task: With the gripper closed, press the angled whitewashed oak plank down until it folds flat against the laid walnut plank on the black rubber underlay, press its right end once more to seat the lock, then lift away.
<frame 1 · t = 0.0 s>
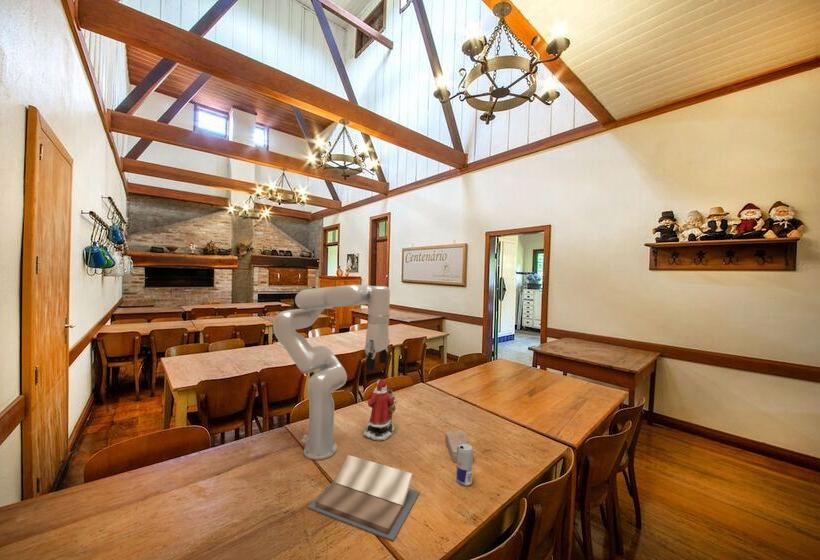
hand: (377, 366, 111), 37 cm above the table, tool pointing down, fingers open, 9 cm apart
loose plank: (373, 479, 98), point 4 cm above the table, hinge at 35.0°
brick: (458, 451, 123), on the table
underlay mat: (366, 500, 94), on the table
laid plank: (358, 510, 90), resting on underlay mat
santa figurine: (380, 432, 137), on the table
energy drink: (464, 481, 105), on the table
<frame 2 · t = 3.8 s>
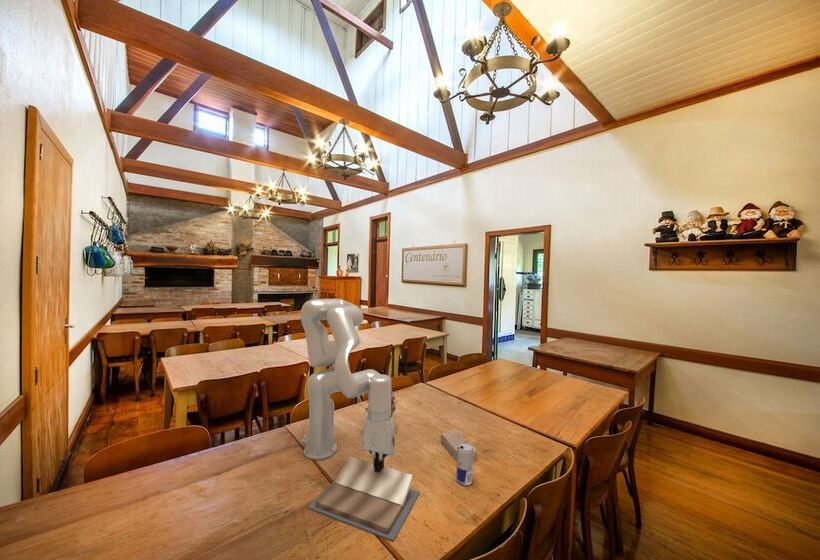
hand: (378, 470, 99), 6 cm above the table, tool pointing down, fingers closed
loose plank: (373, 480, 98), point 4 cm above the table, hinge at 29.2°, touching gripper
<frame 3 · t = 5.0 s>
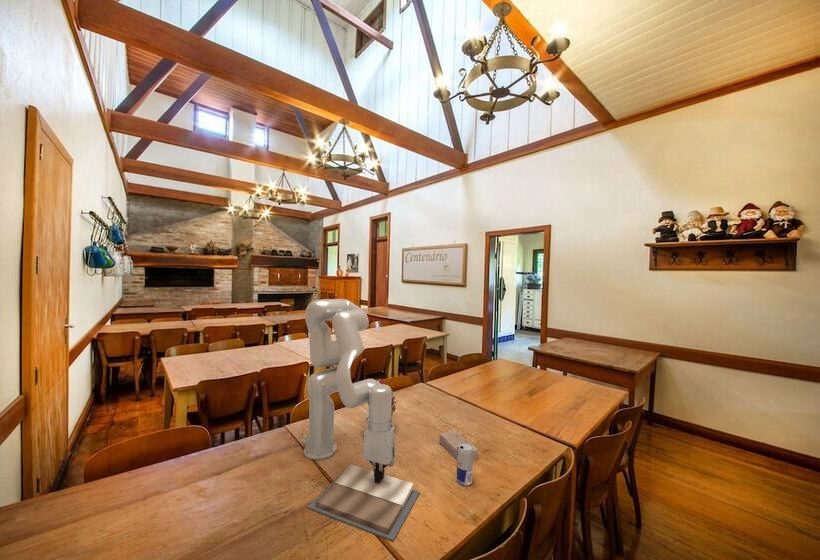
hand: (378, 480, 99), 3 cm above the table, tool pointing down, fingers closed
loose plank: (373, 485, 98), point 2 cm above the table, hinge at 6.6°, touching gripper
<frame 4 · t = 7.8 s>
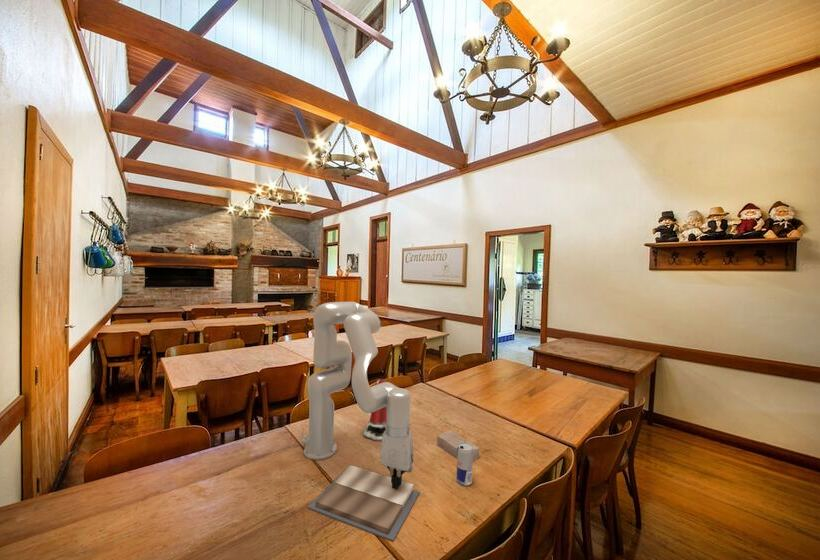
hand: (396, 486, 97), 3 cm above the table, tool pointing down, fingers closed
loose plank: (373, 485, 98), point 2 cm above the table, hinge at 4.7°, touching gripper
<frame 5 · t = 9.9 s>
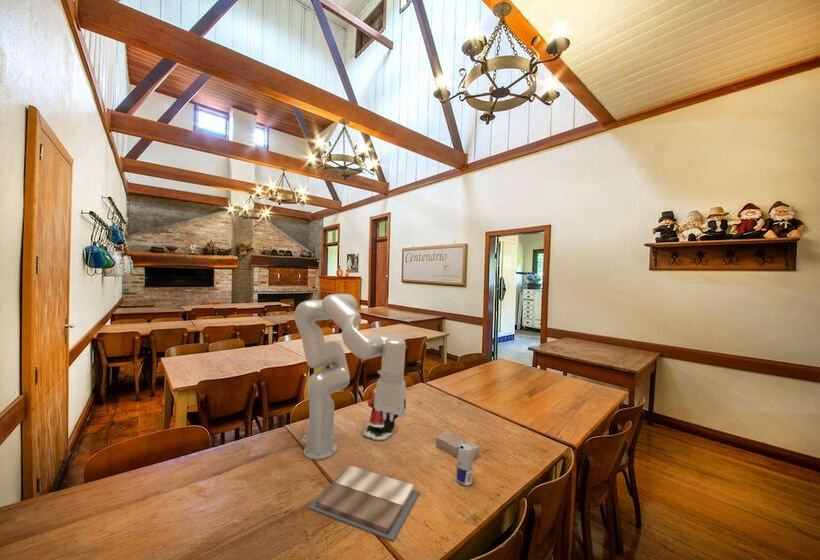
hand: (388, 430, 100), 19 cm above the table, tool pointing down, fingers closed
loose plank: (373, 485, 98), point 2 cm above the table, hinge at 3.4°
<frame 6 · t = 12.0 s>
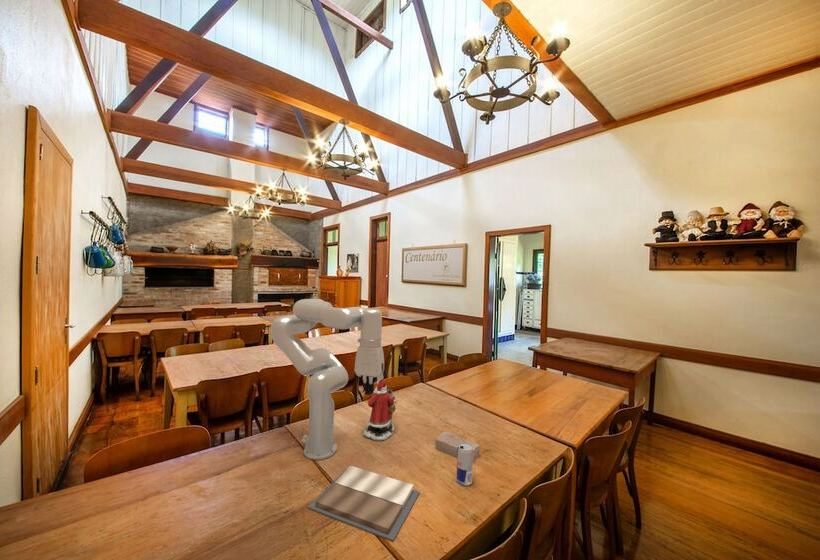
hand: (369, 393, 110), 27 cm above the table, tool pointing down, fingers closed
at the end: loose plank at +3° (first picture: +35°); the gripper is holding nothing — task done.
